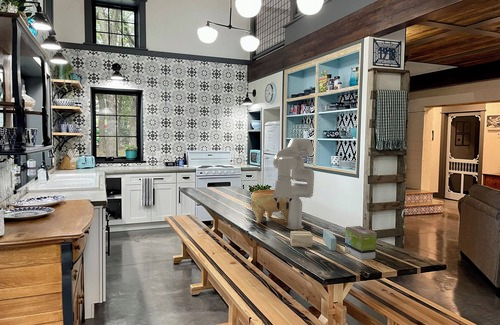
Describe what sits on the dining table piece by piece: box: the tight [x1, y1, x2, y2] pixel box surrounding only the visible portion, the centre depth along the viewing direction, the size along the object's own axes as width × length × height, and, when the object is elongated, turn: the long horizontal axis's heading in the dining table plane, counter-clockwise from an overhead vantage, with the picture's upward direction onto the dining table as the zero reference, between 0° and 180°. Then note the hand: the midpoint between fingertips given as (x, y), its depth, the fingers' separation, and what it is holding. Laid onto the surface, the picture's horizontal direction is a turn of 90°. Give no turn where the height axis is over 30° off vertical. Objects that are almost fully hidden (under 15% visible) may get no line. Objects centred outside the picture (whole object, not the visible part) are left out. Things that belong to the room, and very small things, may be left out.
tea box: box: [344, 225, 378, 261], centre depth 204 cm, size 15×10×15 cm, turn 21°
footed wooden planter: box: [250, 189, 289, 224], centre depth 280 cm, size 34×35×23 cm
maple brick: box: [289, 230, 313, 248], centre depth 221 cm, size 8×12×7 cm, turn 91°
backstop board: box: [322, 229, 337, 251], centre depth 221 cm, size 20×3×7 cm, turn 1°
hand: (282, 208), depth 219 cm, fingers open, 4 cm apart
